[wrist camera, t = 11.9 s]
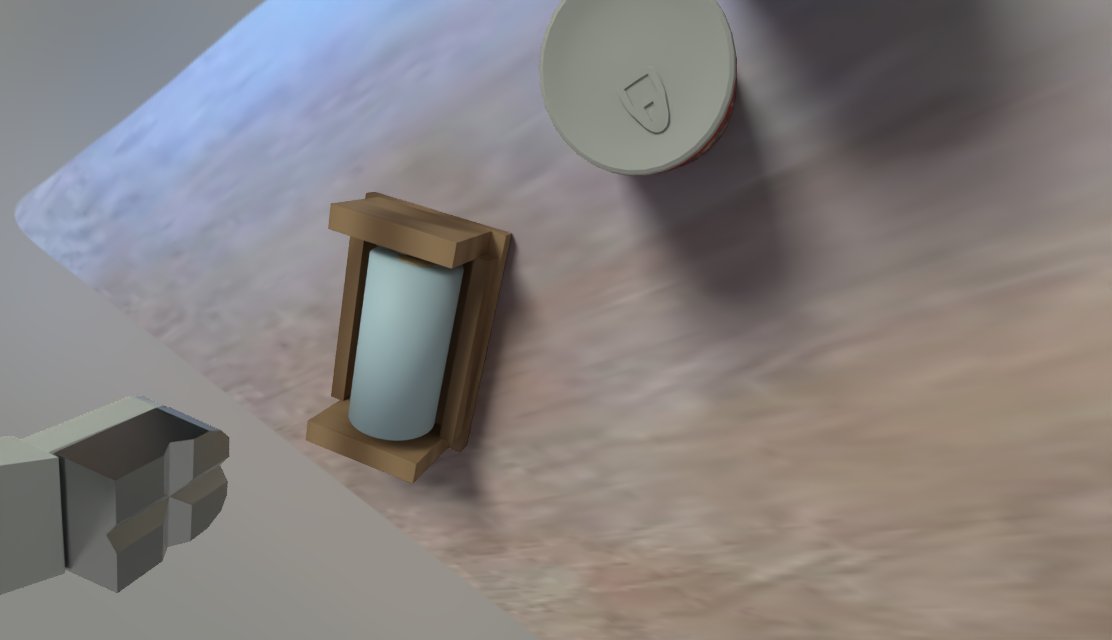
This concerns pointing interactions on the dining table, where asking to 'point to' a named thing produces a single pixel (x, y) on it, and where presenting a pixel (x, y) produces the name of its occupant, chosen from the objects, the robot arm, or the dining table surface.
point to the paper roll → (402, 344)
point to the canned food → (639, 81)
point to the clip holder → (479, 291)
